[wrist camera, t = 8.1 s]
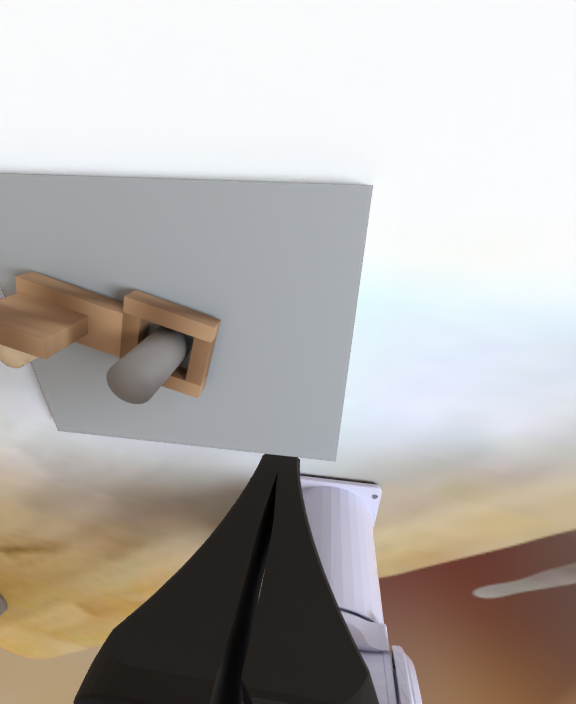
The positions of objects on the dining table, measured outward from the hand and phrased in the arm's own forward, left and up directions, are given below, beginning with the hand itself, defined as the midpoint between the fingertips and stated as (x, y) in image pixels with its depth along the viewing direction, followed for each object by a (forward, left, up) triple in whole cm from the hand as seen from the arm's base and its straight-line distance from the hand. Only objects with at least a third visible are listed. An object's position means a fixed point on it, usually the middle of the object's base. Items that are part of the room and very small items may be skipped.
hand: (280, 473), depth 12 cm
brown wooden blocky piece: (+2, +11, -8) cm, 14 cm away
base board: (+1, +8, -10) cm, 13 cm away
